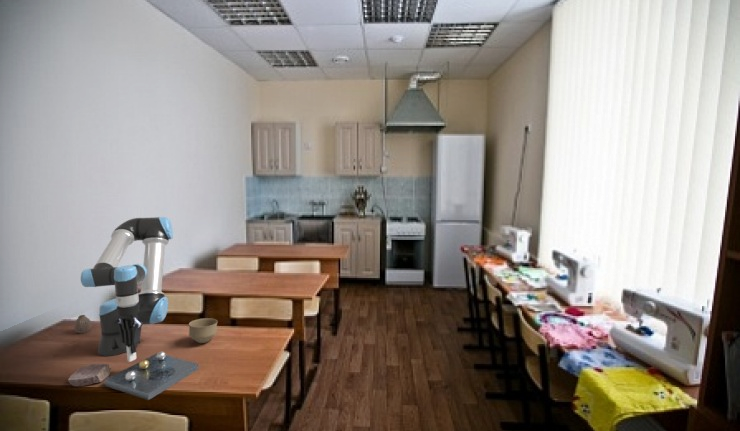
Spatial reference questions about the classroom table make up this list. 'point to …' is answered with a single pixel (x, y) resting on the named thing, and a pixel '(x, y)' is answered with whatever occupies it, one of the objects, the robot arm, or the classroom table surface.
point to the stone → (90, 374)
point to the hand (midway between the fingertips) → (132, 359)
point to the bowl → (203, 329)
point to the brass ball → (144, 364)
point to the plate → (152, 376)
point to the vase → (82, 324)
